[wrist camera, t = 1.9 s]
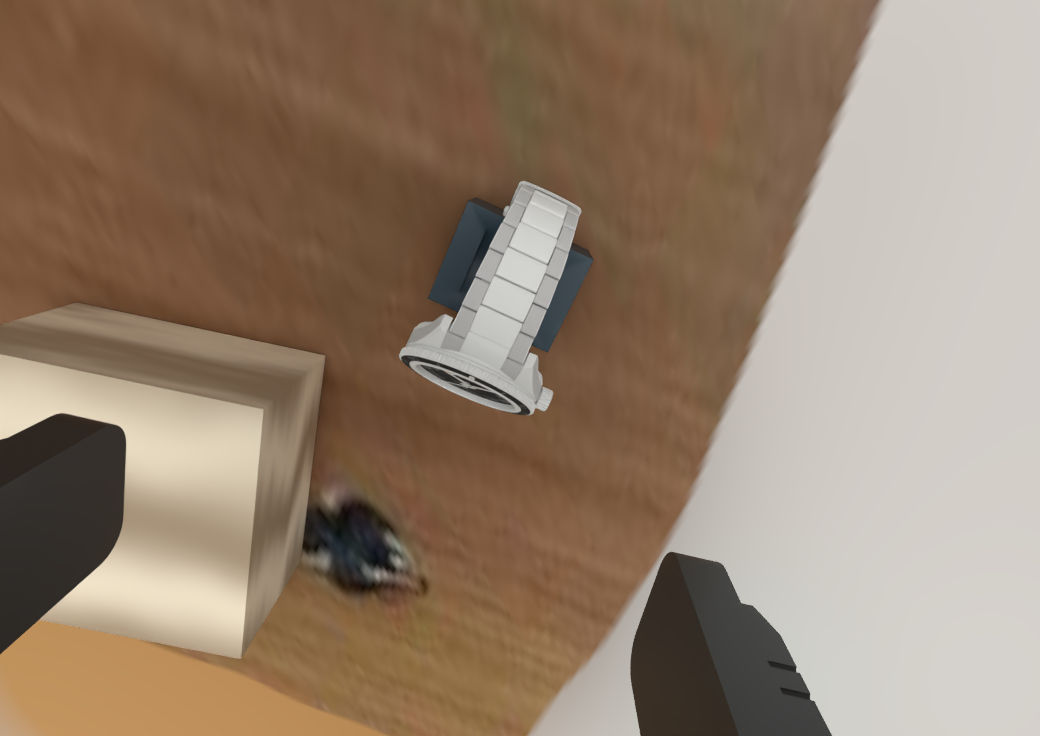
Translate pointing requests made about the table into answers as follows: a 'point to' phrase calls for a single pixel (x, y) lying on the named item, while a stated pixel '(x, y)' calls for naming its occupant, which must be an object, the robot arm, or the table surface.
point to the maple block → (178, 466)
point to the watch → (502, 300)
